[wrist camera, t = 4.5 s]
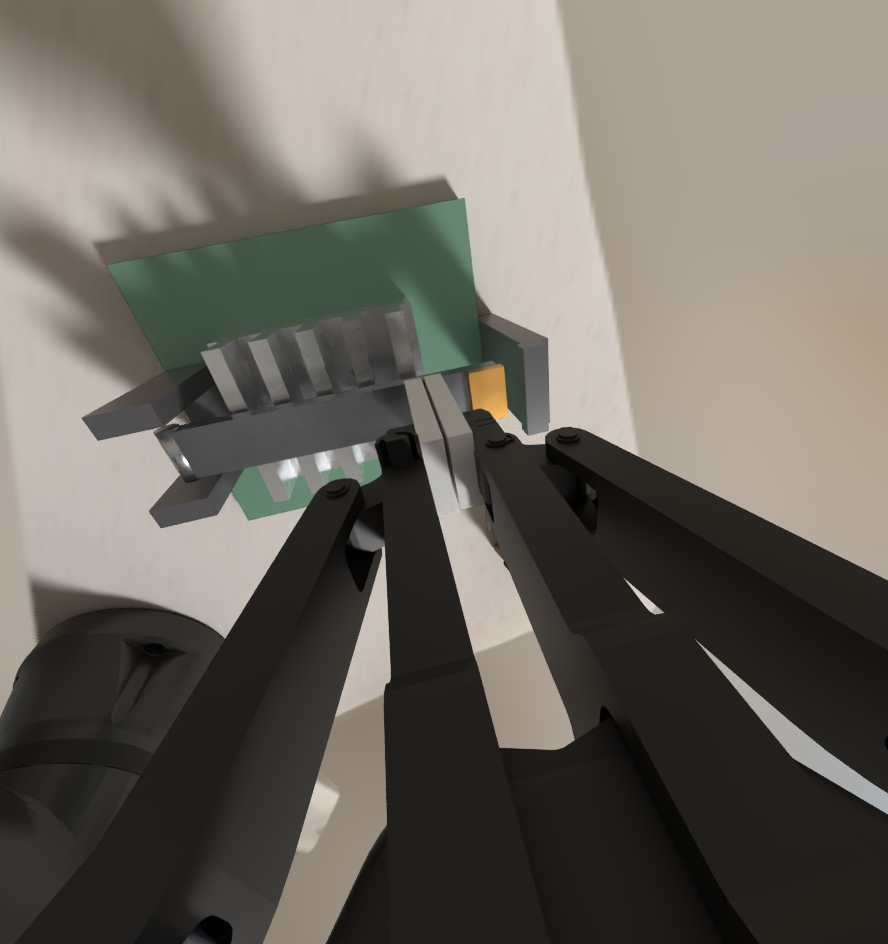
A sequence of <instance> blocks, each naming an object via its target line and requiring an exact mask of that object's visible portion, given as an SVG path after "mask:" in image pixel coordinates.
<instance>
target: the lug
mask: <svg viewBox="0 0 888 944" xmlns="http://www.w3.org/2000/svg"><path fill="white" fill-rule="evenodd" d="M478 322H479V331H480V340H481V349H482V358H483V362H488V361H493V362H494V363H496V364H502V365H503V366H504V373H505V385H506V397H507V408H508V409H509V410H510V411H511V412H512V413H513V414H514V415H515V417H516V418H517V419H518V420H519V421H520V422H521V423H522V429H523V430H524V432H525V433H526V434H527V435H528V436H529V435H533V434H537V433H541V432H546V431H549V426H548V423H550V413H549V368H548V338H546V337H544V336H541V335H539V334H537V333H535V332H533V331H530V330H528V329H526V328H524V327H521V326H519V325H517V324H515V323H513V322H510V321H508V320H506V319H504V318H501V317H499V316H497V315H495V314H493V313H491V314H486V315H481V316H478Z"/></svg>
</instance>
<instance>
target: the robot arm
mask: <svg viewBox="0 0 888 944" xmlns="http://www.w3.org/2000/svg"><path fill="white" fill-rule="evenodd" d="M424 381H425V386H426V391H427V393H426V391H425V388H424V385H423V382H422V380H421V377H420V378H415V379H411V380H406V381H404V383H405V387H406V392H407V396H408V401H409V405H410V409H411V414H412V418H413V423H414V424H411V425H406V426H402V427H397V428H393V429H389V430H388V431H387V432H386V434H385V435H383V436H381V437H380V438H378V439H377V440H376V442H375V444H374V445H375V449H376V452H377V455H378V459H379V462H380V466H381V473H382V474H381V475H380V476H379V477H378V478H377V479H375V480H374V481H372V482H370V483H368V484H365V485H363V486H360V484H359V482H358V481H357V480H355V479H352V478H343V479H336V480H333V481H330V482H328V483H327V484H326V485H324V486H322V487H321V488H320V489H319V490H318V491H317V492H316V494H315V495H314V497H313V498H312V500H311V502H310V503H309V505H308V506H307V508H306V510H305V511H304V513H303V514H302V516H301V518H300V519H299V521H298V522H297V524H296V526H295V527H294V529H293V531H292V532H291V534H290V535H289V537H288V539H287V540H286V542H285V543H284V545H283V547H282V548H281V550H280V551H279V553H278V555H277V556H276V558H275V560H274V561H273V563H272V564H271V566H270V568H269V569H268V571H267V572H266V574H265V576H264V577H263V579H262V580H261V582H260V584H259V585H258V587H257V589H256V590H255V592H254V593H253V595H252V597H251V598H250V600H249V601H248V603H247V605H246V606H245V608H244V609H243V611H242V613H241V614H240V616H239V618H238V619H237V621H236V622H235V624H234V626H233V627H232V629H231V630H230V632H229V634H228V635H227V637H226V638H225V640H224V639H223V638H222V637H221V636H219V635H218V634H217V633H215V632H214V631H212V630H211V629H209V628H207V627H205V626H204V625H202V624H200V623H197V622H195V621H193V620H190V619H187V618H184V617H181V616H178V615H174V614H170V613H165V612H160V611H154V610H145V609H111V610H103V611H96V612H92V613H87V614H84V615H80V616H77V617H74V618H72V619H69V620H67V621H65V622H63V623H61V624H59V625H58V626H56V627H55V628H53V629H52V630H51V631H49V632H48V633H47V634H46V635H45V636H44V637H43V639H42V640H41V641H40V642H39V643H38V644H37V646H36V647H35V648H34V649H33V650H32V652H31V653H30V654H29V655H28V656H27V657H26V659H25V660H24V662H23V663H22V665H21V666H20V668H19V670H18V672H17V674H16V677H15V681H14V684H13V691H12V693H11V695H10V697H9V699H8V701H7V704H6V705H5V708H4V710H3V712H2V715H1V717H0V944H262V943H263V941H264V939H265V936H266V934H267V931H268V929H269V926H270V924H271V921H272V919H273V916H274V914H275V911H276V909H277V906H278V903H279V900H280V897H281V895H282V891H283V888H284V885H285V882H286V879H287V876H288V873H289V870H290V867H291V864H292V861H293V858H294V855H295V851H296V848H297V844H298V841H299V838H300V834H301V831H302V827H303V824H304V820H305V817H306V814H307V810H308V807H309V803H310V800H311V797H312V793H313V790H314V786H315V783H316V779H317V776H318V773H319V769H320V766H321V762H322V759H323V755H324V752H325V749H326V745H327V742H328V738H329V735H330V731H331V728H332V725H333V721H334V718H335V714H336V711H337V707H338V704H339V701H340V697H341V694H342V690H343V687H344V684H345V680H346V677H347V673H348V670H349V666H350V663H351V660H352V656H353V653H354V649H355V646H356V642H357V639H358V636H359V632H360V629H361V625H362V622H363V618H364V615H365V612H366V608H367V605H368V601H369V598H370V595H371V591H372V588H373V584H374V581H375V577H376V574H377V571H378V567H379V564H380V560H381V557H382V547H384V546H385V557H386V578H387V599H388V620H389V641H390V662H391V680H390V683H388V684H386V686H385V691H384V731H385V765H386V802H387V826H386V827H385V828H384V830H383V831H382V832H381V834H380V835H379V837H378V839H377V840H376V842H375V844H374V845H373V847H372V849H371V850H370V852H369V854H368V856H367V858H366V860H365V862H364V864H363V866H362V868H361V870H360V872H359V875H358V876H357V879H356V881H355V883H354V885H353V887H352V889H351V891H350V894H349V896H348V898H347V900H346V902H345V904H344V906H343V908H342V910H341V913H340V915H339V917H338V919H337V921H336V923H335V925H334V928H333V930H332V932H331V935H330V936H329V938H328V940H327V943H326V944H888V814H886V813H884V812H883V811H881V810H879V809H878V808H876V807H874V806H873V805H871V804H869V803H867V802H866V801H864V800H862V799H861V798H859V797H857V796H856V795H854V794H852V793H851V792H849V791H847V790H845V789H844V788H842V787H840V786H839V785H837V784H835V783H833V782H832V781H830V780H828V779H827V778H825V777H823V776H822V775H820V774H818V773H817V772H815V771H813V770H812V769H810V768H808V767H807V766H805V765H803V764H801V763H800V762H798V761H796V760H795V759H793V758H792V757H791V756H790V755H789V753H788V752H787V751H786V750H785V748H784V747H783V746H782V745H781V744H780V742H779V741H778V740H777V739H776V738H775V736H774V735H773V734H772V733H771V731H770V730H769V729H768V728H767V727H766V725H765V724H764V723H763V722H762V721H761V719H760V718H759V717H758V716H757V714H756V713H755V712H754V711H753V709H751V707H750V706H749V705H748V703H747V702H746V701H745V700H744V699H743V697H742V696H741V695H740V694H739V692H738V691H737V690H736V689H735V688H734V686H733V685H732V684H731V683H730V681H729V680H728V679H727V678H726V676H724V674H723V673H722V672H721V670H720V669H719V668H718V667H717V666H716V665H715V663H714V662H713V661H712V659H711V658H710V657H709V656H708V655H707V653H706V652H705V651H704V650H703V648H702V647H701V646H700V645H699V644H698V642H699V643H700V644H701V645H702V646H704V647H705V648H706V649H707V650H708V651H709V652H711V653H712V654H713V655H714V656H715V657H716V658H718V659H719V660H720V661H721V662H722V663H723V664H725V665H726V666H727V667H728V668H729V669H731V671H733V672H734V673H735V674H736V675H737V676H738V677H740V678H741V679H742V680H743V681H744V682H745V683H747V684H748V685H749V686H750V687H751V688H752V689H753V690H755V691H756V692H757V693H758V694H759V695H760V696H762V697H763V698H764V699H765V700H766V701H768V702H769V703H770V704H771V705H772V706H773V707H774V708H776V709H777V710H778V711H779V712H780V713H781V714H783V715H784V716H785V717H786V718H787V719H788V720H789V721H791V722H792V723H793V724H794V725H796V726H797V727H798V728H799V729H801V730H802V731H803V732H804V733H805V734H807V735H808V736H809V737H810V738H812V739H813V740H814V741H815V742H817V743H818V744H819V745H820V746H822V747H823V748H824V749H825V750H826V751H828V752H829V753H830V754H832V755H833V756H835V757H836V758H837V759H839V760H840V761H842V762H843V763H844V764H846V765H847V766H849V767H850V768H851V769H853V770H854V771H856V772H857V773H858V774H860V775H861V776H863V777H864V778H865V779H867V780H868V781H870V782H871V783H873V784H874V785H876V786H877V787H879V788H881V789H882V790H884V791H885V792H887V793H888V580H885V579H884V578H882V577H880V576H878V575H875V574H874V573H872V572H870V571H868V570H866V569H864V568H862V567H860V566H857V565H856V564H854V563H851V562H850V561H848V560H845V559H843V558H841V557H839V556H837V555H835V554H833V553H831V552H829V551H827V550H825V549H823V548H821V547H819V546H817V545H815V544H813V543H811V542H809V541H807V540H805V539H803V538H801V537H799V536H797V535H795V534H793V533H791V532H789V531H787V530H785V529H783V528H781V527H779V526H777V525H775V524H773V523H771V522H769V521H767V520H765V519H763V518H761V517H759V516H757V515H755V514H753V513H751V512H749V511H747V510H745V509H743V508H741V507H739V506H737V505H735V504H733V503H731V502H729V501H727V500H725V499H723V498H721V497H719V496H717V495H715V494H713V493H711V492H708V491H707V490H704V489H702V488H700V487H698V486H696V485H694V484H692V483H690V482H688V481H686V480H684V479H682V478H680V477H678V476H676V475H674V474H672V473H670V472H668V471H666V470H664V469H662V468H660V467H658V466H656V465H654V464H652V463H650V462H648V461H646V460H644V459H642V458H640V457H638V456H636V455H634V454H632V453H630V452H628V451H626V450H624V449H622V448H620V447H618V446H616V445H614V444H612V443H610V442H608V441H606V440H604V439H602V438H600V437H598V436H596V435H594V434H592V433H590V432H588V431H585V430H582V429H579V428H572V427H567V428H566V427H563V428H560V429H556V430H553V431H551V432H549V433H548V434H547V435H546V436H545V444H540V445H524V444H522V443H521V441H520V440H519V439H518V437H516V436H515V435H513V434H510V433H504V431H503V430H502V428H501V427H500V426H499V424H498V423H497V422H496V420H495V419H494V418H493V416H492V415H491V413H490V412H489V411H486V410H484V409H481V408H480V409H475V410H470V411H466V412H461V410H460V409H459V407H458V405H457V403H456V401H455V399H454V398H453V396H452V394H451V392H450V390H449V388H448V387H447V385H446V383H445V381H444V379H443V377H442V376H441V374H440V373H439V374H434V375H429V376H425V377H424ZM452 486H453V488H452ZM589 486H591V487H592V488H593V489H594V491H595V492H596V494H597V495H596V496H594V495H592V494H591V493H589ZM453 489H454V492H455V495H456V497H457V500H458V503H459V506H460V509H461V510H462V509H466V508H470V507H475V506H479V505H482V498H481V494H482V497H483V499H484V505H485V512H486V520H487V527H488V531H491V528H492V530H493V532H494V535H495V537H496V540H497V542H498V545H499V547H500V550H501V552H502V554H503V557H504V559H505V562H506V564H507V567H508V569H509V572H510V574H511V576H512V579H513V581H514V584H515V586H516V589H517V591H518V594H519V596H520V598H521V601H522V603H523V606H524V608H525V611H526V613H527V616H528V618H529V620H530V623H531V625H532V628H533V630H534V633H535V635H536V638H537V640H538V642H539V644H540V647H541V650H542V652H543V655H544V657H545V660H546V662H547V664H548V667H549V669H550V672H551V674H552V677H553V679H554V681H555V684H556V686H557V689H558V691H559V694H560V696H561V699H562V701H563V704H564V706H565V708H566V711H567V714H568V716H569V719H570V723H571V726H572V730H573V734H574V739H575V740H574V741H573V742H572V743H570V744H568V745H567V746H565V747H564V748H562V749H558V750H540V749H514V748H499V745H498V741H497V738H496V734H495V730H494V726H493V722H492V718H491V715H490V711H489V707H488V704H487V699H486V695H485V691H484V688H483V685H482V680H481V676H480V672H479V669H478V665H477V662H476V660H475V657H474V654H473V650H472V646H471V642H470V638H469V634H468V630H467V626H466V623H465V619H464V615H463V611H462V607H461V603H460V599H459V595H458V592H457V588H456V584H455V580H454V576H453V572H452V568H451V564H450V560H449V557H448V553H447V549H446V545H445V541H444V537H443V533H442V529H441V526H440V522H439V518H438V515H440V514H445V513H449V512H453V511H457V510H456V505H455V499H454V494H453ZM623 577H624V578H625V579H626V580H627V581H628V582H629V583H631V584H632V585H633V586H634V587H635V588H636V589H638V590H639V591H640V592H641V593H642V594H643V595H644V596H646V597H647V598H648V599H649V600H650V601H651V602H653V603H654V604H655V605H656V606H657V607H658V608H660V609H661V610H662V611H663V612H664V613H662V614H656V615H655V614H653V613H651V612H650V611H649V610H648V609H647V608H646V607H645V606H644V605H643V603H642V602H641V601H640V599H639V598H638V597H637V595H636V594H635V593H634V591H633V590H632V589H631V587H630V586H629V585H628V583H627V582H626V581H625V579H624V578H623ZM696 640H697V641H698V642H697V641H696Z"/></svg>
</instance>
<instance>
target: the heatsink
mask: <svg viewBox="0 0 888 944" xmlns="http://www.w3.org/2000/svg"><path fill="white" fill-rule="evenodd" d="M207 345H208V347H209V348H207V349H205V350H204V351H202V352H201V354H202V356H203V358H204V360H205V363H206V365H207V367H208V369H209V371H210V373H211V375H212V377H213V379H214V381H215V383H216V385H217V387H218V389H219V391H220V393H221V395H222V397H223V399H224V401H225V403H226V405H227V407H228V409H229V411H230V413H231V415H232V414H237V413H242V412H247V411H251V410H256V409H261V408H266V407H271V406H276V405H280V404H285V403H290V402H295V401H300V400H305V399H309V398H314V397H319V396H324V395H329V394H333V393H338V392H343V391H348V390H353V389H358V388H362V387H367V386H372V385H377V384H382V383H387V382H391V381H396V380H401V379H406V378H411V377H416V376H420V375H425V372H424V367H423V362H422V357H421V352H420V347H419V342H418V336H417V331H416V326H415V321H414V316H413V311H412V306H411V302H410V301H409V300H408V299H407V298H406V297H403V298H398V299H393V300H389V301H384V302H379V303H374V304H369V305H364V306H359V307H354V308H349V309H344V310H339V311H334V312H330V313H325V314H320V315H315V316H310V317H305V318H300V319H295V320H290V321H285V322H280V323H276V324H271V325H266V326H261V327H256V328H251V329H246V330H241V331H236V332H231V333H227V334H225V335H223V336H221V337H219V338H217V339H216V340H214V341H212V342H210V343H208V344H207ZM375 442H376V441H372V442H367V443H362V444H358V445H353V446H348V447H344V448H339V449H334V450H329V451H325V452H320V453H315V454H311V455H306V456H301V457H297V458H292V459H287V460H282V461H278V462H273V463H268V464H264V465H259V466H257V468H258V470H259V472H260V474H261V476H262V478H263V480H264V482H265V484H266V486H267V488H268V490H269V492H270V494H271V496H272V498H273V500H274V502H275V503H276V502H280V501H284V500H289V499H290V497H291V494H292V491H293V488H294V485H295V482H296V479H297V477H299V476H303V475H304V476H305V479H306V481H307V483H308V486H309V488H310V490H311V493H312V494H314V493H316V492H317V491H318V490H319V489H320V488H321V487H322V486H324V485H326V484H327V483H328V481H329V475H330V470H331V469H333V468H338V467H342V468H343V471H344V474H345V476H346V478H352V479H355V480H357V481H358V482H359V483H361V482H363V472H364V461H368V460H372V459H377V458H378V455H377V452H376V449H375V445H374V444H375Z"/></svg>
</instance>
